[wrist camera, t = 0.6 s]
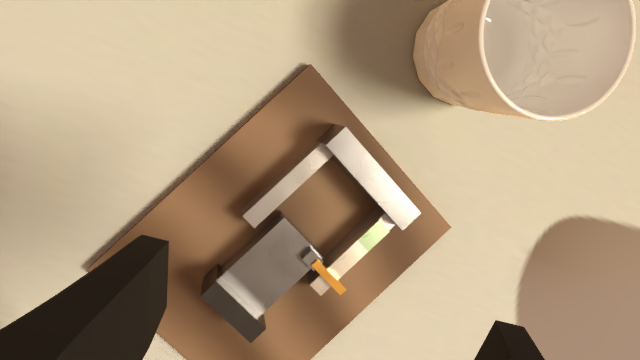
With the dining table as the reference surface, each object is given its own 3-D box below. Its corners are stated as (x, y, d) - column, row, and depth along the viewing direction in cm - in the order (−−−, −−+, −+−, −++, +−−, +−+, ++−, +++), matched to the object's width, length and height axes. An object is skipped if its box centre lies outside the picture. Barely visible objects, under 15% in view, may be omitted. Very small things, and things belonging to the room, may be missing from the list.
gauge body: (315, 284, 33) (324, 303, 29) (241, 209, 31) (243, 221, 28) (403, 202, 33) (421, 213, 30) (334, 123, 31) (345, 126, 28)
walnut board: (250, 408, 34) (250, 415, 33) (90, 266, 31) (86, 270, 30) (446, 224, 34) (451, 227, 34) (308, 65, 31) (310, 64, 30)
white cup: (536, 17, 33) (663, -16, 24) (491, 131, 34) (596, 145, 24) (430, -32, 32) (520, -90, 22) (385, 89, 32) (452, 85, 23)
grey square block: (269, 339, 32) (273, 364, 29) (203, 276, 31) (200, 296, 28) (340, 272, 33) (352, 290, 29) (277, 207, 31) (283, 219, 28)
